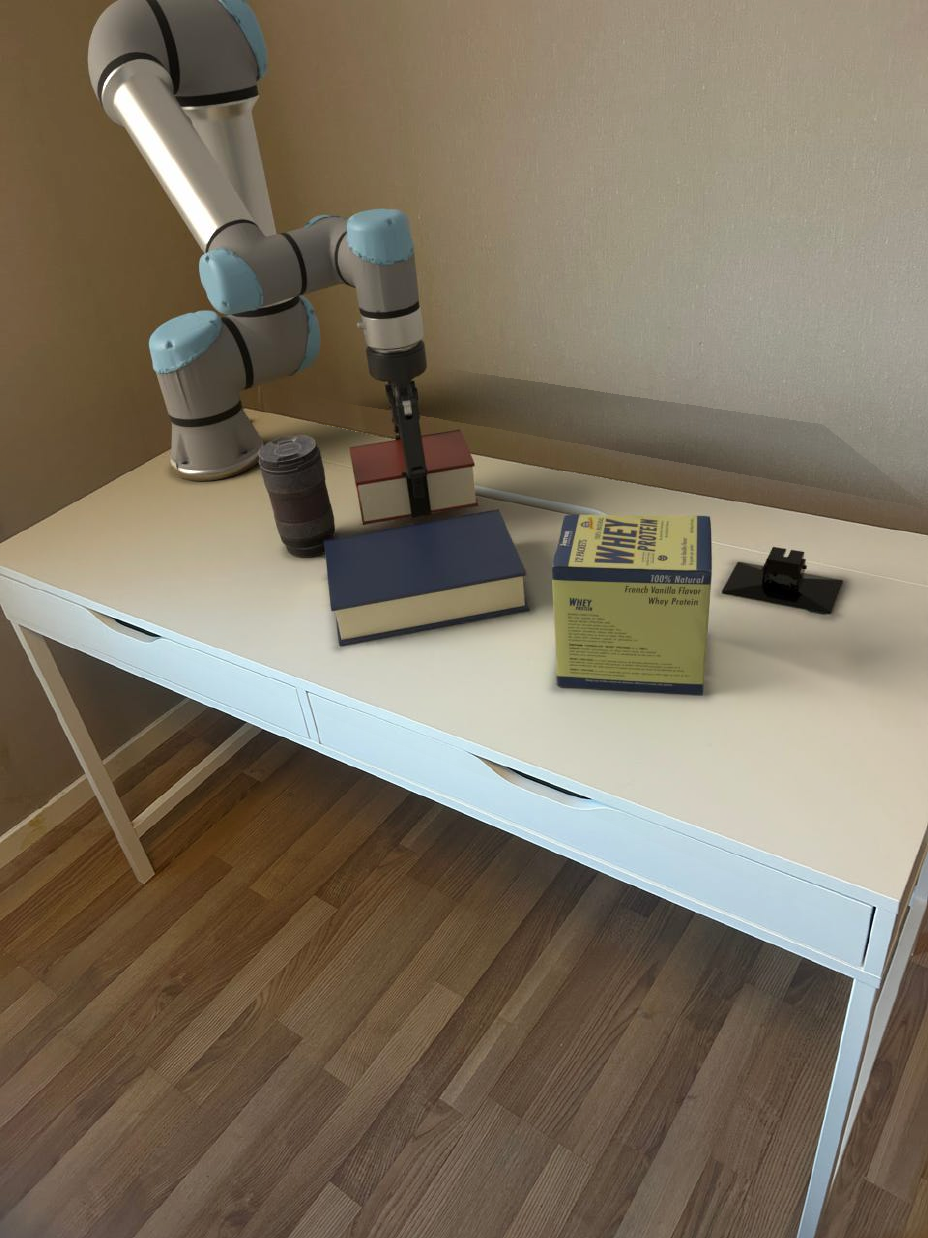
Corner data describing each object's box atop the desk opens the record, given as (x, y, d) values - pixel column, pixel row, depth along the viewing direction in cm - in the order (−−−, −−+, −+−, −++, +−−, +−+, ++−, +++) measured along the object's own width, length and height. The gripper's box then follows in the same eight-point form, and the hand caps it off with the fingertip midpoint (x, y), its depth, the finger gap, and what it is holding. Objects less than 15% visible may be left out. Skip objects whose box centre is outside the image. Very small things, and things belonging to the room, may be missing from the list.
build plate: (843, 583, 110) (848, 549, 107) (830, 617, 105) (835, 583, 102) (737, 563, 115) (740, 531, 112) (720, 595, 110) (723, 561, 107)
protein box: (705, 696, 96) (713, 569, 87) (555, 688, 99) (547, 565, 90) (705, 635, 104) (712, 513, 95) (566, 630, 108) (560, 512, 99)
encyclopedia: (331, 575, 123) (323, 540, 120) (501, 544, 125) (498, 508, 121) (339, 646, 110) (330, 608, 107) (529, 610, 112) (526, 572, 108)
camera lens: (276, 540, 132) (251, 443, 124) (331, 525, 134) (310, 428, 125) (288, 567, 126) (262, 466, 117) (345, 550, 128) (324, 450, 119)
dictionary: (356, 487, 135) (349, 447, 131) (464, 470, 136) (460, 429, 132) (362, 525, 126) (355, 482, 122) (478, 505, 127) (474, 462, 124)
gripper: (357, 318, 127) (381, 462, 140) (374, 381, 108) (399, 541, 121) (411, 309, 128) (430, 454, 141) (437, 371, 109) (455, 531, 122)
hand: (415, 494), depth 131 cm, fingers closed on dictionary, 11 cm apart
